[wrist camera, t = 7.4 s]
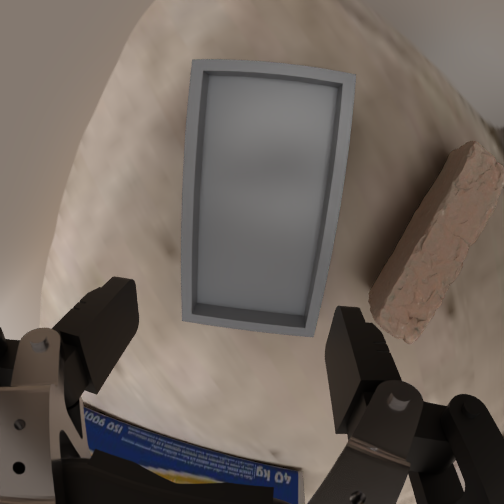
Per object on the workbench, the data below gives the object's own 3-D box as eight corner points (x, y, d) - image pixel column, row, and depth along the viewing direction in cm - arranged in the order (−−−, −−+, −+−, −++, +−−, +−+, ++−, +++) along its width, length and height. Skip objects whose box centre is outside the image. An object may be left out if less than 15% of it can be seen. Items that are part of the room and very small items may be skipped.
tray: (348, 80, 23) (356, 74, 20) (311, 320, 32) (313, 337, 29) (201, 66, 24) (192, 59, 21) (189, 305, 32) (182, 320, 30)
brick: (476, 136, 17) (519, 174, 16) (446, 153, 25) (480, 181, 24) (364, 320, 21) (409, 351, 21) (361, 291, 29) (397, 316, 28)
